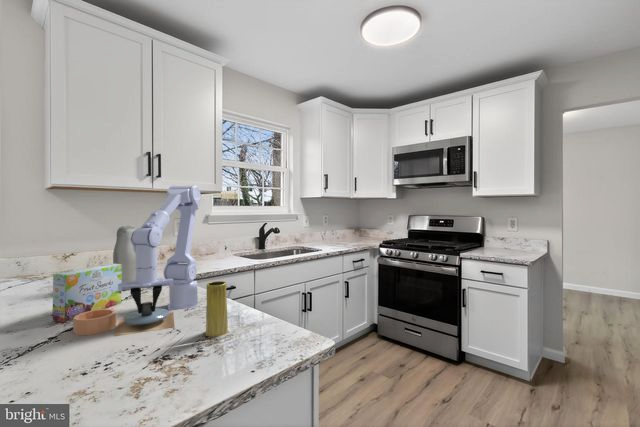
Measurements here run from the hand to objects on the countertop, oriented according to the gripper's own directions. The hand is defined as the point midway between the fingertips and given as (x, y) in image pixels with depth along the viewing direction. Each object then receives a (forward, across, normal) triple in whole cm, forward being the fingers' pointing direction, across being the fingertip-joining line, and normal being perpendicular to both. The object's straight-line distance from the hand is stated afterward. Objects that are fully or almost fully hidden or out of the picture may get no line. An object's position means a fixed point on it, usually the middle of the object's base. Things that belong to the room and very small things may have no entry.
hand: (146, 311), depth 95 cm
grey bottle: (+4, -10, +54) cm, 55 cm away
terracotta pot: (+4, -13, +2) cm, 14 cm away
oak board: (+4, 0, 0) cm, 4 cm away
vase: (+4, +18, -17) cm, 25 cm away
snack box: (+4, -18, +23) cm, 29 cm away
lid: (+2, 0, 0) cm, 2 cm away
